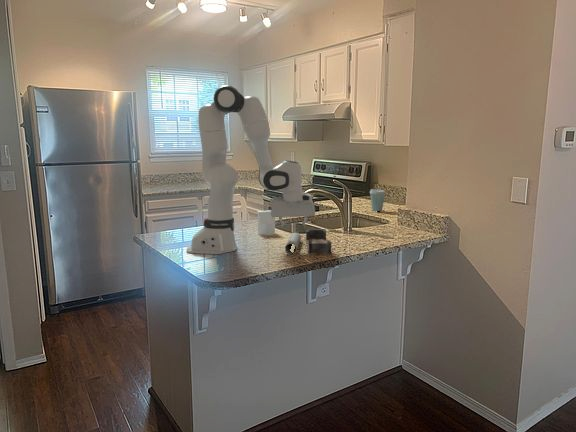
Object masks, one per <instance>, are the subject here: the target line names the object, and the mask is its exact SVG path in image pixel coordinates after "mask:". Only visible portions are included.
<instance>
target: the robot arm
mask: <svg viewBox="0 0 576 432" xmlns="http://www.w3.org/2000/svg"><path fill="white" fill-rule="evenodd" d="M230 113H236V114H237V115H238V117H239V119H240V121H241V124H242V127H243V130H244V133H245V135H246V138H247V139H248V141H249V143H250V145H251V147H252V148H253V151H254V156H255V158H256V162H257V165H258V176H257V177H258V178H257V179H258V182H259V184H260V185H261V186H262V187H263V188H265V189H267V190H269V191H270V192H276V191H279V190H282V196H272V197H271V198H270V199H269V205H270V208H271V209H270V210H271V216H272V217H275V218H278V221H279V222H280V223H281V227H285V226H286V224H285V221H283V220H282V219H283V218H291V217H293V218H294V217H295V218H297V217H303V218H304V220H303V221H301V226H302V227H306V223H307V221H308V217H315V215H316V208H315V204H314V203H315V202H314V201H313V195H312V194H311V193H308V192H305V191H303V188H302V187H303V186H302V181H303V175H302V174H303V173H302V167H301V164H300V163H299V162H298V161H295V160H289V159H285V160H283V161H282V162H281V163H280V164H278V165H276V166H274V164H273V162H272V158H271V155H270V151H269V147H268V145H269V144H268V143H269V139H270V136H271V129H270V123H269V119H268V116H267V113H266V110H265V109H264V107H263V104H262V102H261V101H260V98H259V97H257V96H254V95H248V96H243V94H241V93H240V92H239V90H238V89H237V88H236V87H234V86H232V85H225V84H224V85H221V86H219V87H217V88H216V90H215V91H214V94H213V101H212V102H211V103H208V104H203V105H202V106H201V107H200V108H199V110H198V129H199V136H200V143H201V150H202V151H201V153H202V155H201V157H202V160H201V161H202V163H201V165H202V170H201V178H202V180H204V182H205V183H206V184H207V185H208V186H210V190H209V196H208V200H207V217H205V218H204V219H203V227H202V228H201V229H200V230H199V231H197V232H196V233H195V234H194V235H193V236H192V238H191V244H190V245H188V246H187V247H186V253H188V254H207V255H222V254H226V253H231V252H234V251H236V250H238V246H237V242H236V237H235V219H234V214H233V213H234V210H233V209H234V208H233V207H234V205H233V202H234V201H233V200H234V195H235V188H236V185H237V183H238V180H239V175H238V172H237V169H235V167H233V166H232V165H230V164H228V163H227V152H228V149H229V146H228V138H227V130H226V125H225V116H226V115H228V114H230Z"/></svg>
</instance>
